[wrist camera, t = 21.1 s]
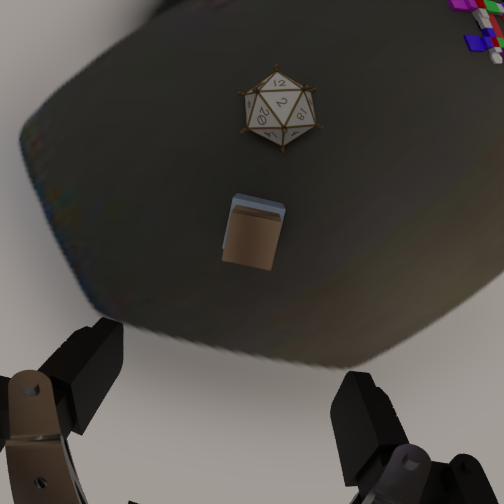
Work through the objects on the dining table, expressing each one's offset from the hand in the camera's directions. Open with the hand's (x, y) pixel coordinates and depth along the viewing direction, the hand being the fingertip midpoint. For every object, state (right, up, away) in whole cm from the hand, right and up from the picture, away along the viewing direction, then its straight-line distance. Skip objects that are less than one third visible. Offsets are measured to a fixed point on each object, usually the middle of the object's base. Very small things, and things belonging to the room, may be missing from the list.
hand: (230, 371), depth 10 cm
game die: (+4, +20, +24) cm, 31 cm away
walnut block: (+1, +6, +22) cm, 23 cm away
